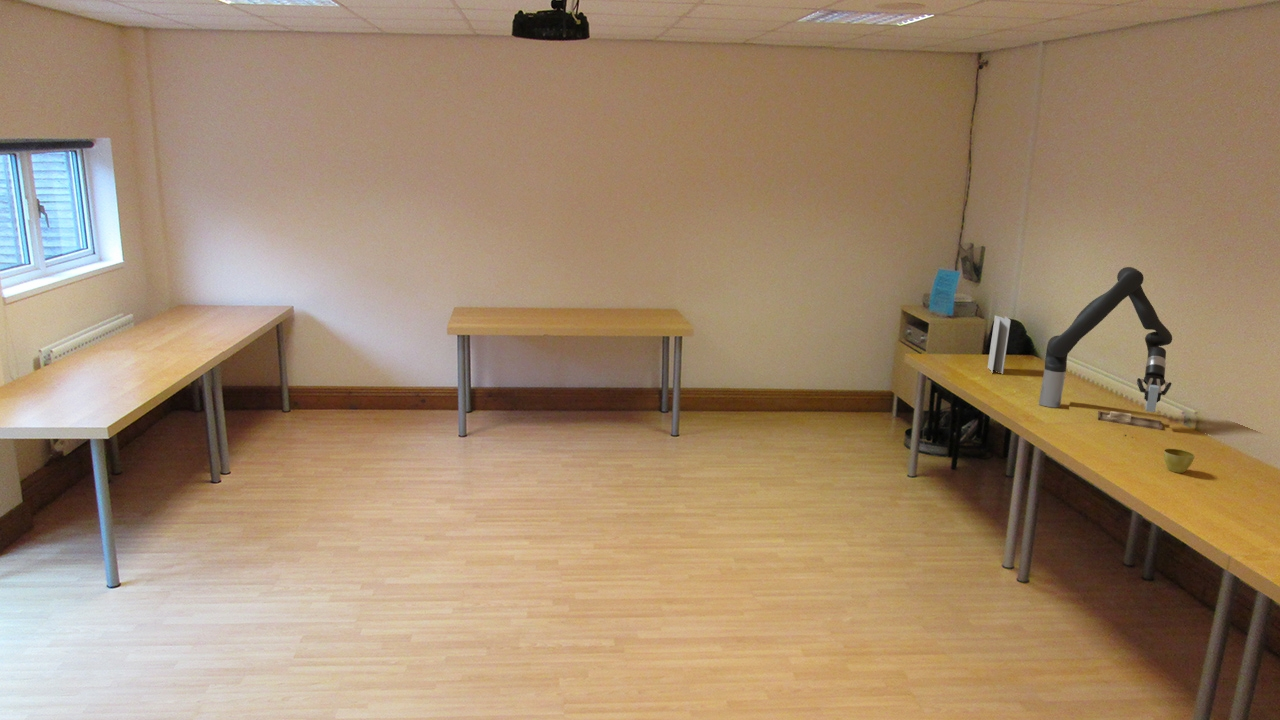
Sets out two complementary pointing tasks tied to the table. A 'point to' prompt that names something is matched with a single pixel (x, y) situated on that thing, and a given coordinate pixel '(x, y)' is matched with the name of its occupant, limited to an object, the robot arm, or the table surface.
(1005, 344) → the brochure
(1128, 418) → the offcut stack
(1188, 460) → the green bowl
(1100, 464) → the table surface
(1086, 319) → the robot arm
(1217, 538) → the table surface
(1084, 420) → the table surface
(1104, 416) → the brown serving tray
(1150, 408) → the blue-grey rectangular block
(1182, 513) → the table surface
